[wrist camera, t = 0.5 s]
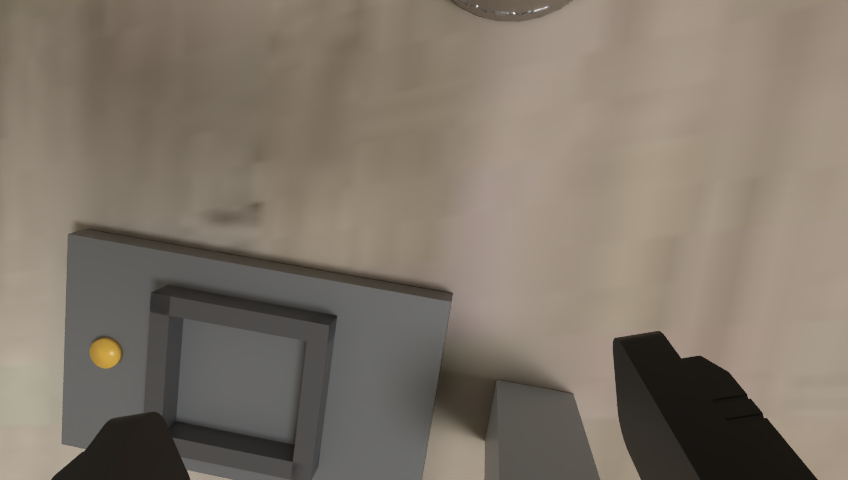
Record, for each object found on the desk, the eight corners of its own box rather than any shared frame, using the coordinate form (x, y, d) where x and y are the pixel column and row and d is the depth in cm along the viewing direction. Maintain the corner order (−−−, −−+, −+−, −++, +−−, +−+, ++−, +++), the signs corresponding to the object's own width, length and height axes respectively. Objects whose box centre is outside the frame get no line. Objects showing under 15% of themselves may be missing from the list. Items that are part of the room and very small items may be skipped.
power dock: (87, 229, 32) (46, 239, 29) (452, 293, 30) (448, 310, 28) (79, 430, 34) (41, 458, 31) (418, 499, 33) (411, 536, 30)
